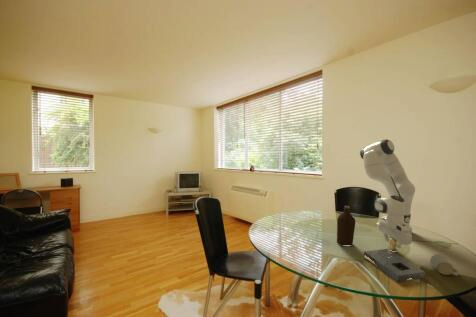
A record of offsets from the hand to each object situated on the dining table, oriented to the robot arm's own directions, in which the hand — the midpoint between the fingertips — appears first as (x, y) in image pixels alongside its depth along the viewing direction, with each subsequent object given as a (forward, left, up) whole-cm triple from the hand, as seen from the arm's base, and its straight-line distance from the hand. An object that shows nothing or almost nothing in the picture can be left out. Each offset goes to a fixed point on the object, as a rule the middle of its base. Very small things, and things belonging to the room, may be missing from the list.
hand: (392, 244), depth 137 cm
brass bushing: (0, 0, -4) cm, 4 cm away
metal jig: (+14, -15, -4) cm, 21 cm away
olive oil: (-13, -23, -4) cm, 27 cm away
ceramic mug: (+23, +9, -4) cm, 25 cm away
